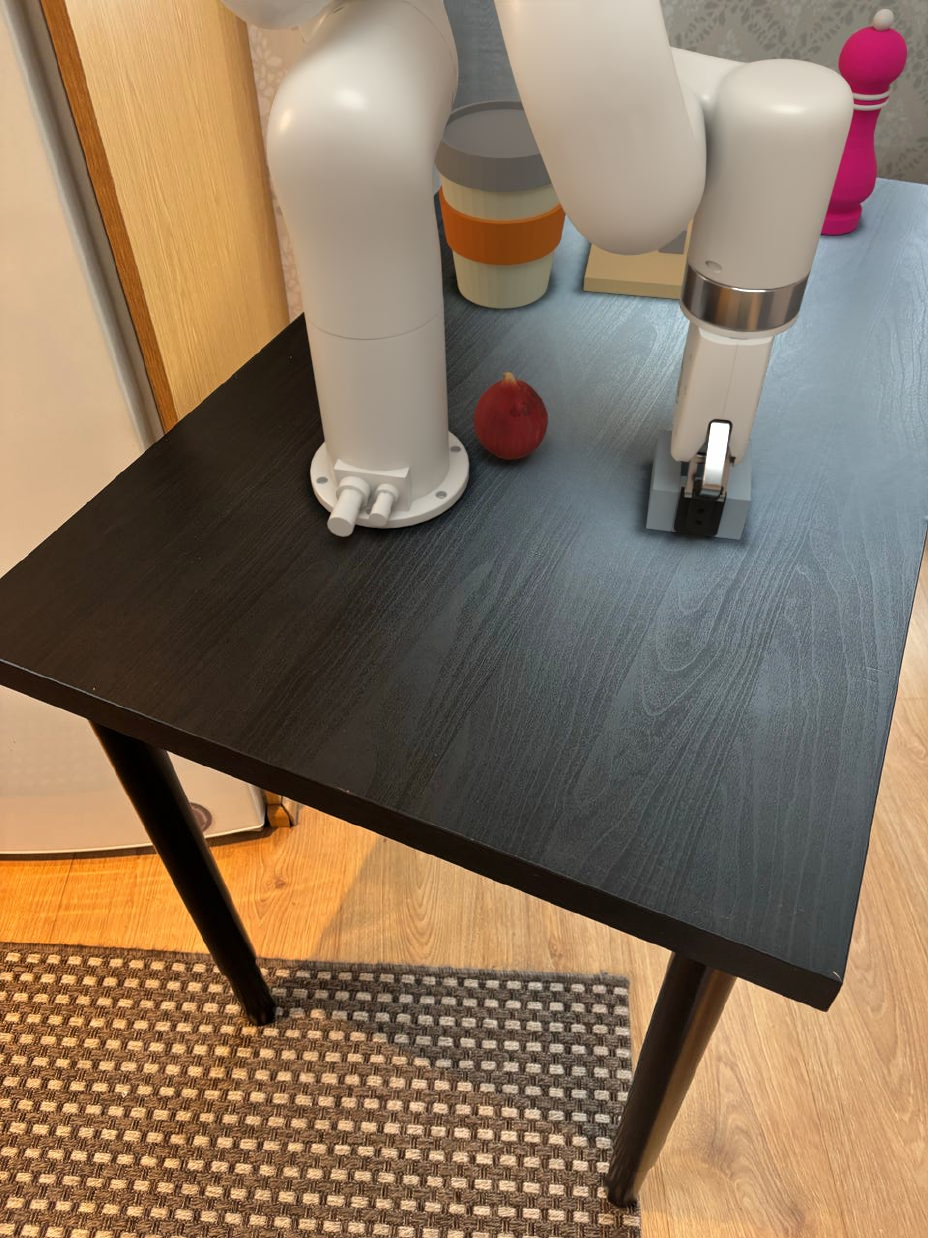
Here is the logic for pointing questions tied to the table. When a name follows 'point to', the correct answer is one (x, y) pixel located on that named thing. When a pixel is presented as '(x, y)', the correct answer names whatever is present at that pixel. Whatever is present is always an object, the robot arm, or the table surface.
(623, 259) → the base pad
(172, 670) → the table surface
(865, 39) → the pepper mill
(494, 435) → the onion
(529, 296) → the reusable coffee cup
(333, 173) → the robot arm
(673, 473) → the gray block
